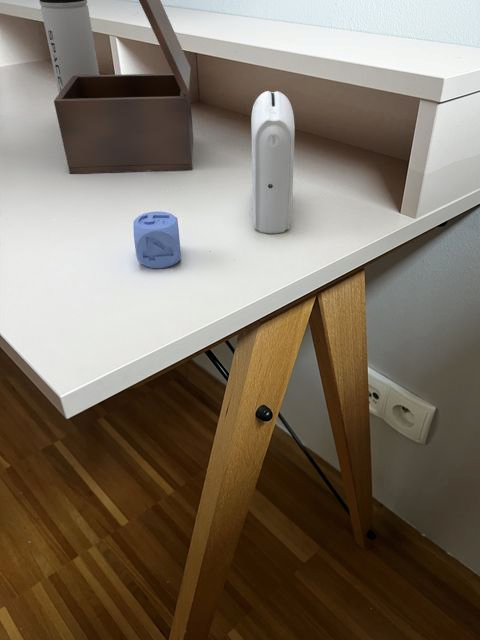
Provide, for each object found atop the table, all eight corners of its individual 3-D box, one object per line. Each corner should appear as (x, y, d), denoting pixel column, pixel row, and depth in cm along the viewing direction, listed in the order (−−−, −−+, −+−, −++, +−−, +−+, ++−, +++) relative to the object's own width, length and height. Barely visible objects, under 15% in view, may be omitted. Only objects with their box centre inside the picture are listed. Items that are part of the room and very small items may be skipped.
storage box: (69, 173, 71) (53, 100, 66) (85, 141, 81) (72, 75, 75) (192, 170, 72) (186, 97, 67) (193, 138, 82) (188, 73, 76)
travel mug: (106, 118, 90) (81, -32, 77) (108, 130, 85) (82, -28, 72) (66, 121, 88) (34, -31, 76) (66, 134, 83) (31, -27, 71)
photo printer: (293, 234, 58) (297, 109, 50) (251, 234, 58) (250, 109, 50) (289, 194, 66) (292, 81, 58) (252, 194, 66) (251, 81, 58)
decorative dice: (181, 267, 53) (177, 228, 50) (138, 270, 52) (132, 231, 50) (180, 247, 56) (176, 209, 53) (139, 250, 55) (134, 212, 53)
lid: (108, -64, 57) (159, -91, 56) (122, -68, 66) (166, -92, 65) (183, 95, 66) (227, 74, 65) (185, 70, 76) (224, 52, 75)
